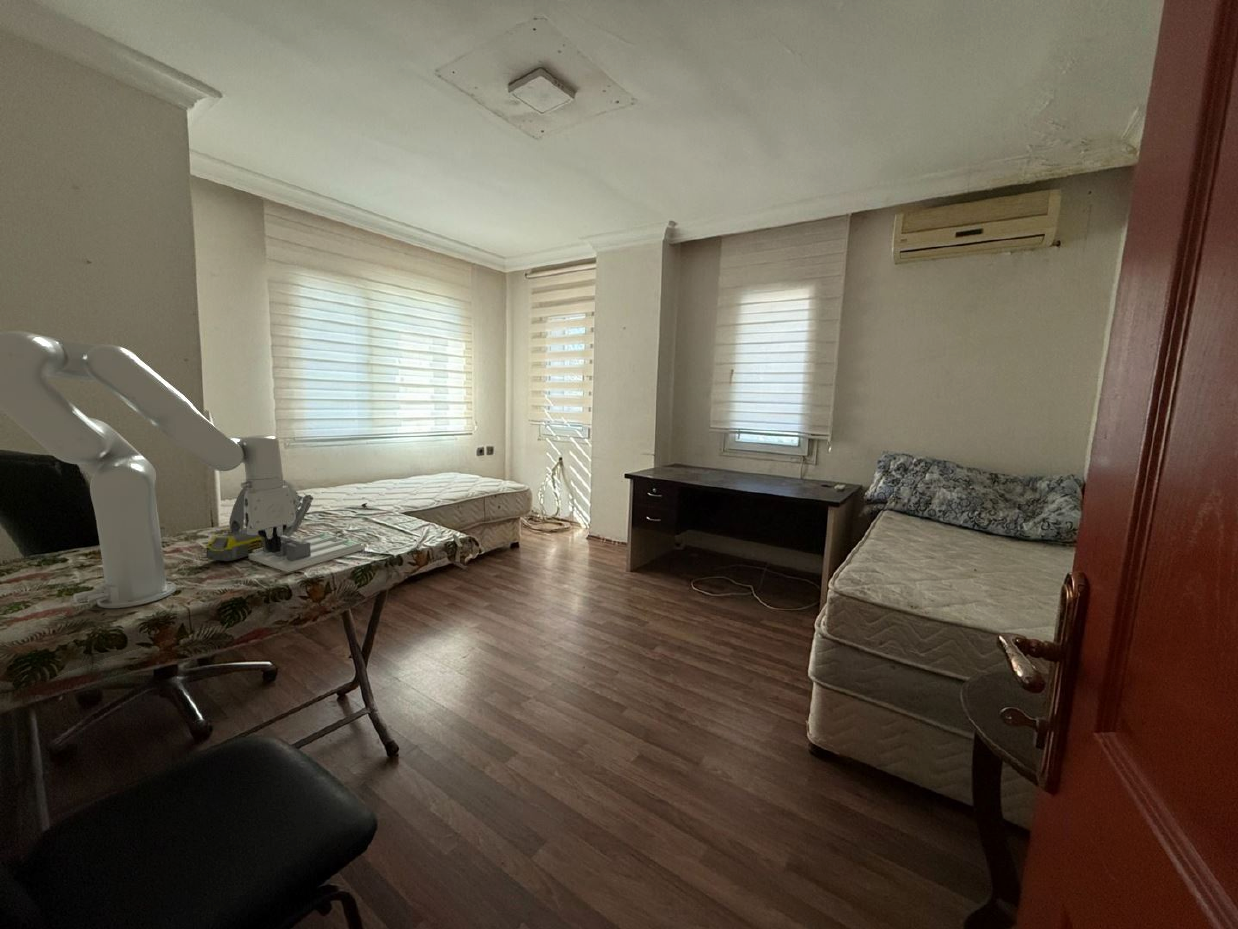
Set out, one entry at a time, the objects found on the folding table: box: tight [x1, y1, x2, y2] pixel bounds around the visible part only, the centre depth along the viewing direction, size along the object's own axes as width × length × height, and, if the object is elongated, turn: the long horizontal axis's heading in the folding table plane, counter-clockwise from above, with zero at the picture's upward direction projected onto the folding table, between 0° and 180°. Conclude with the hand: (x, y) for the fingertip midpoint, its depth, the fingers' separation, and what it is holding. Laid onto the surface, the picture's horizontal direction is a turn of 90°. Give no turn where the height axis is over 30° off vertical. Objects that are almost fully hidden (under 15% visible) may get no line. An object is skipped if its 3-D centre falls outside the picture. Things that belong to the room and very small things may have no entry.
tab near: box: [286, 538, 311, 561], centre depth 129 cm, size 4×4×5 cm
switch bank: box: [247, 532, 366, 573], centre depth 137 cm, size 22×19×2 cm
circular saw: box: [205, 479, 314, 562], centre depth 142 cm, size 10×30×25 cm
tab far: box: [262, 532, 283, 553], centre depth 134 cm, size 4×4×5 cm
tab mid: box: [275, 535, 297, 557], centre depth 132 cm, size 4×4×5 cm
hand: (274, 551), depth 123 cm, fingers closed
